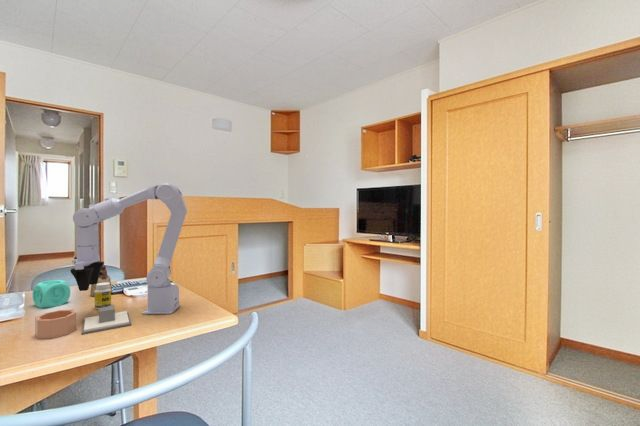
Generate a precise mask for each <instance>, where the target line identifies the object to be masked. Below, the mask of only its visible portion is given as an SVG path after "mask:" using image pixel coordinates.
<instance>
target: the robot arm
mask: <svg viewBox="0 0 640 426" xmlns="http://www.w3.org/2000/svg"><path fill="white" fill-rule="evenodd" d="M147 200H160V201H161V202H162V203H164V205H166V207H167V208H168V210H169V211H170V216H169V220H168V223H167V226H166V229H165V232H164V235H163V237H162V241H161V244H160V245H159V246H160V247H159V250H158V252H157V256H156V258H155V261H154V263H153V266H152V268H151V269H150V271H148V273H146V274H147V275H146V282H147V308H146V310H144V311H143V312H141V314H142V315H161V314H162V315H164V314H167V315H169V314H172V313H174V312H175V311H176V310H177V309H178V308H179V307H180V289H179V288H180V287H179V286H178V285H177V284H172V281H171V280H170V279H169V278H170V276H171V274H172V269H171V265H172V260H173V257H174V253H175V252H176V251H175V250H176V247H177V245H178V240H179V238H180V234H181V231H182V228H183V225H184V221H185V219H186V216H187V212H188V209H187V208H188V207H187V204H186V203H185V199H184V197H183V193H182V191H181V190H180V189H179V188H178V186H176V185H175V184H172V183H170V182H162V183H160V184H156V185H152V186H149V187H145V188H143V189H141V190H139V191H136V192H133V193H132V194H129V195H127V196H125V197H123V198H120V199H118V198H115V197H111V198H110V197H105V198H104V199H103V201H101V202H100V201H99V202H98V203H96V204H91V203H90V204H89V205H88V208H86V207H83V208H82V207H81V208H79V209H78V210H76V211H75V212H74V213H73V215H72V221H73V222H74V224H75V225H76V228H75V229H76V234H75V235H76V236H75V237H76V240H75V241H76V258H74V259H72V263H74V267H73V268H71V269H70V273H71V275H72V276H73V277H74V279H75V282H76V285H77V288H78V290H79V291H80V292H83V291H84V292H85V291H88V290H89V288H90V286H91V284H97V282H98V278H99V274H100V271H101V268H102V266H103V265H105V261H101V259H100V249H99V247H100V245H99V244H100V243H99V240H100V239H99V223H100V222H104V221H106V220H109V219H111V218H115V217H116V216H119V215H121V214H123V212H124V210H125V208H128V207H130V206H133V205H136V204H139V203H141V202H144V201H147Z"/></svg>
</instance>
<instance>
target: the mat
mask: <svg viewBox="0 0 640 426" xmlns="http://www.w3.org/2000/svg"><path fill="white" fill-rule="evenodd" d="M129 313H130V312H129V311H128V312H127V315H128V319H129V324H124V325H119V326H113V327H108V328H102V329H97V330H92V331H86V332H84V324H85V318H84V319H83V320H82V327H81V328H82V329H81V335H88V334H91V333H98V332H102V331H108V330H113V329H114V330H115V329H118V328H119V329H120V328H124V327H130V326H132V322H131V318H130V314H129Z"/></svg>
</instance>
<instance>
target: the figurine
mask: <svg viewBox="0 0 640 426" xmlns="http://www.w3.org/2000/svg"><path fill="white" fill-rule="evenodd" d="M106 266H107V265H105V264H104V265H103V266H102V268H101V271H100V274H99V278H98V282H97V284H99V283H110V287H109V288H110V289H111V292H112V293H113V286H112V281H111V277H110V276H109V274H108V271H107V270H108V269H107V267H106ZM95 290H96V284H91V285H90V297H94V298H95Z"/></svg>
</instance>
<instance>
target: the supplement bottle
mask: <svg viewBox="0 0 640 426" xmlns="http://www.w3.org/2000/svg"><path fill="white" fill-rule="evenodd" d="M109 287H110V283H99V284H96V290H95V297H94V308H95V310H99V308H101V307H108V306H112V294H111V289H110V288H109Z"/></svg>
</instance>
